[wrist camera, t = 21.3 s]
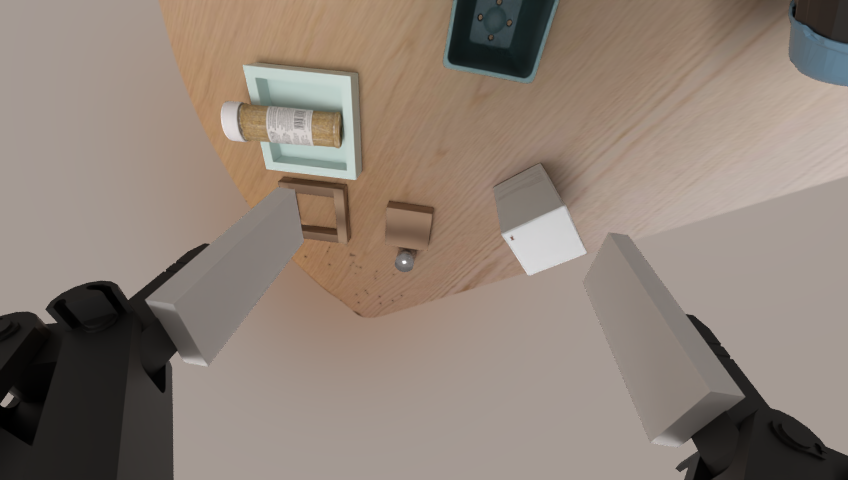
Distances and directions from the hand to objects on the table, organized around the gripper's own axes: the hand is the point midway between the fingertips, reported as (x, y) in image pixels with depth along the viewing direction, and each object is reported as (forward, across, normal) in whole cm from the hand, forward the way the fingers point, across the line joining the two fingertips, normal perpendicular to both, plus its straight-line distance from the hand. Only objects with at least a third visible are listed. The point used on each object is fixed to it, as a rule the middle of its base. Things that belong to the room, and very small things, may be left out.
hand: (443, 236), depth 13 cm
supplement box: (+31, +11, -12) cm, 36 cm away
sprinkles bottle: (+28, -15, -5) cm, 32 cm away
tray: (+31, -20, -5) cm, 37 cm away
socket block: (+31, -21, -19) cm, 42 cm away
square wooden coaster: (+31, -6, -20) cm, 37 cm away
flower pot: (+31, +2, +8) cm, 33 cm away
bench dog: (+31, -6, -25) cm, 40 cm away
